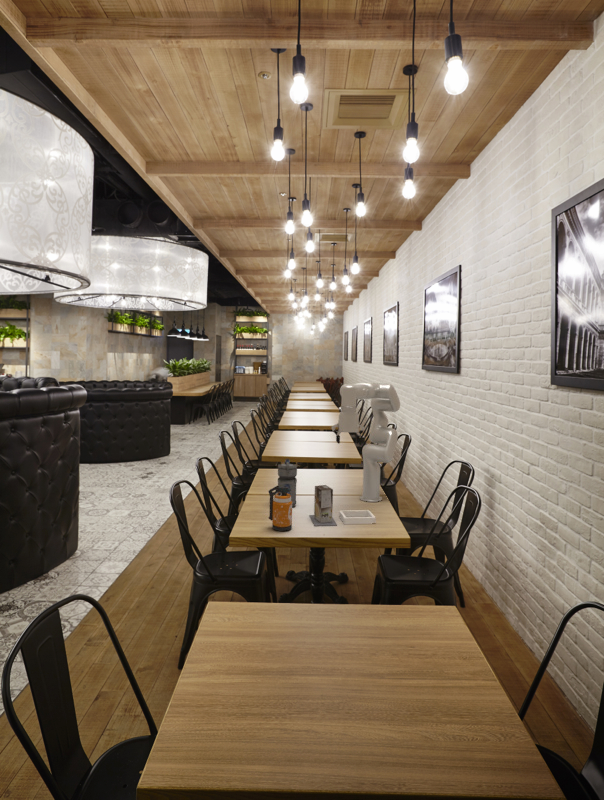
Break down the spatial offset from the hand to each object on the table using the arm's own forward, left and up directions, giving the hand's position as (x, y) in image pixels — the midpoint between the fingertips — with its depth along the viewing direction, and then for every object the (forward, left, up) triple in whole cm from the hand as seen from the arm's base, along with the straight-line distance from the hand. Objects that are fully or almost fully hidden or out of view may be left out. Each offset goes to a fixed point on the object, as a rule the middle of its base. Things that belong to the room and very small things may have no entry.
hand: (347, 443), depth 257 cm
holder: (+12, +3, -36) cm, 38 cm away
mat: (+12, -14, -36) cm, 41 cm away
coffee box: (+12, -14, -36) cm, 40 cm away
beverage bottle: (-15, -29, -36) cm, 49 cm away
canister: (+22, -36, -36) cm, 56 cm away
